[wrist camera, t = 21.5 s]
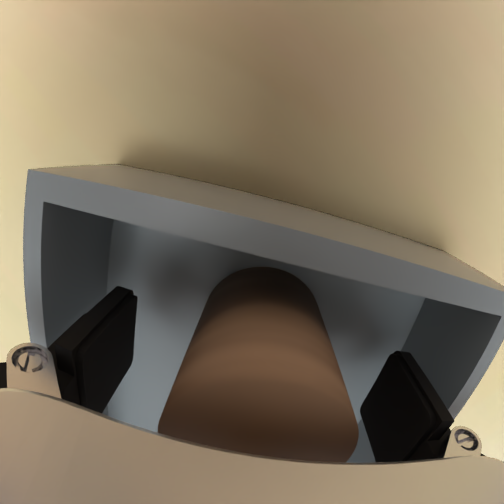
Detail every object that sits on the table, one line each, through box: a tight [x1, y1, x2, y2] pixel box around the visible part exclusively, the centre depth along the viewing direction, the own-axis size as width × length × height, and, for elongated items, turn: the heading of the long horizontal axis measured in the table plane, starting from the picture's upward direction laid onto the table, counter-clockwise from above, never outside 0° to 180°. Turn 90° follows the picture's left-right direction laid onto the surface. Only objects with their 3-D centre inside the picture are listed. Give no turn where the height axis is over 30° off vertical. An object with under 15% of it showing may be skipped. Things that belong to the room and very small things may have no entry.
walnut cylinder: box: [158, 267, 359, 463], centre depth 10 cm, size 5×5×7 cm
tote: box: [23, 164, 504, 463], centre depth 13 cm, size 22×16×6 cm
